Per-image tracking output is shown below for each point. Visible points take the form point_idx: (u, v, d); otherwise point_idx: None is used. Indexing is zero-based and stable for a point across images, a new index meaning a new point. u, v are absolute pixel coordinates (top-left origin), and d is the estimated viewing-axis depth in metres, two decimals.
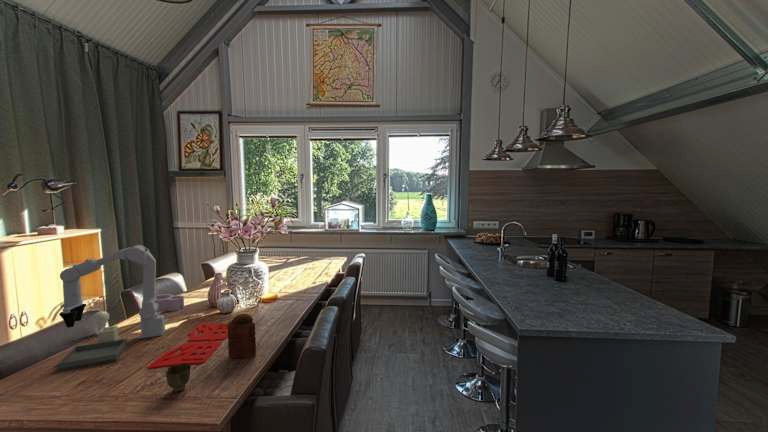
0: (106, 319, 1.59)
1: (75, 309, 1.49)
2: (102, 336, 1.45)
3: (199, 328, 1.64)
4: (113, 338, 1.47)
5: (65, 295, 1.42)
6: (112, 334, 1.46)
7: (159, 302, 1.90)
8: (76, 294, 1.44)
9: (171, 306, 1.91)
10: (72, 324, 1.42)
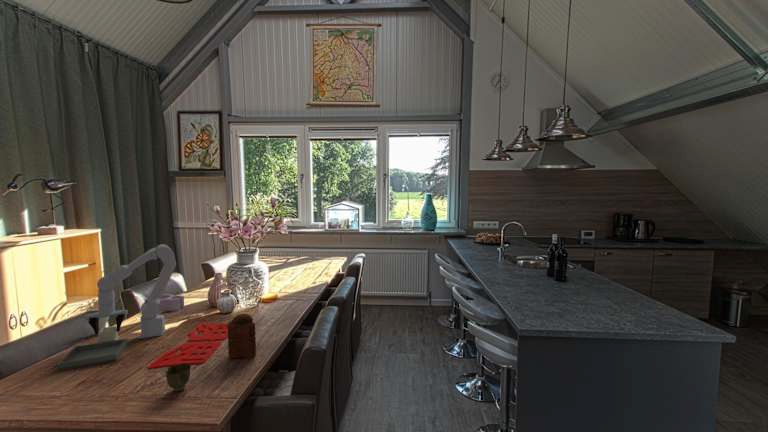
0: (106, 319, 1.59)
1: None
2: (102, 336, 1.45)
3: (199, 328, 1.64)
4: (113, 338, 1.47)
5: (102, 304, 1.44)
6: (112, 334, 1.46)
7: None
8: (99, 304, 1.44)
9: (171, 306, 1.91)
10: None
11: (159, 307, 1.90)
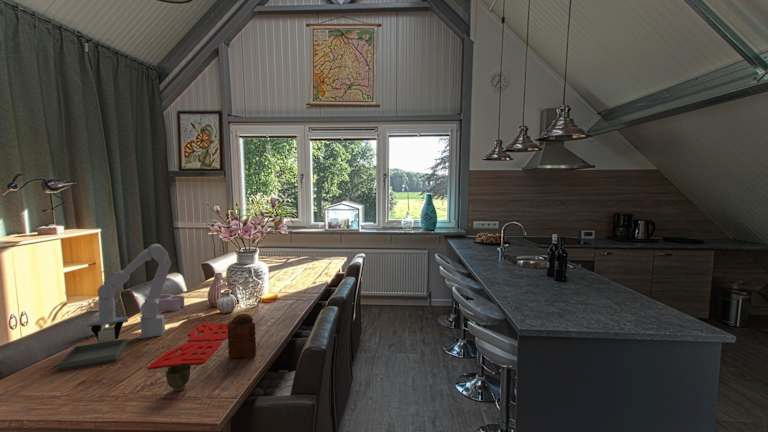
0: None
1: None
2: (102, 336, 1.45)
3: (199, 328, 1.64)
4: (113, 338, 1.47)
5: (102, 312, 1.45)
6: (112, 334, 1.46)
7: (159, 302, 1.90)
8: (100, 312, 1.45)
9: (171, 306, 1.91)
10: None
11: (159, 307, 1.90)
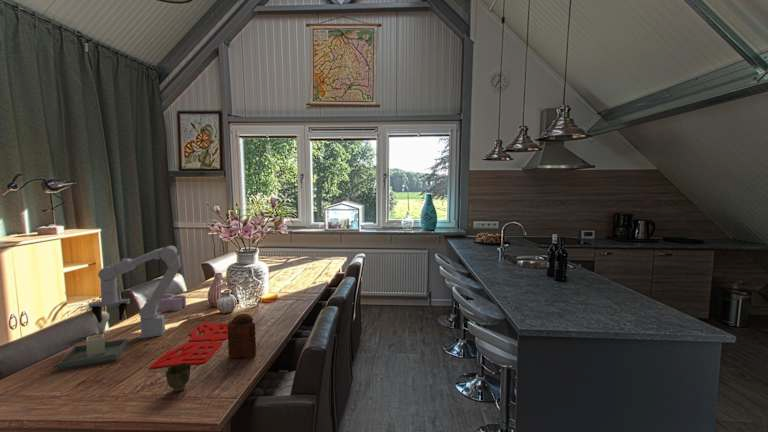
0: (106, 319, 1.59)
1: None
2: (91, 345, 1.34)
3: (200, 328, 1.64)
4: (103, 346, 1.37)
5: (103, 293, 1.48)
6: (102, 342, 1.36)
7: (161, 302, 1.90)
8: (102, 293, 1.48)
9: (173, 306, 1.91)
10: None
11: (161, 307, 1.90)
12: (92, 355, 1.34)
